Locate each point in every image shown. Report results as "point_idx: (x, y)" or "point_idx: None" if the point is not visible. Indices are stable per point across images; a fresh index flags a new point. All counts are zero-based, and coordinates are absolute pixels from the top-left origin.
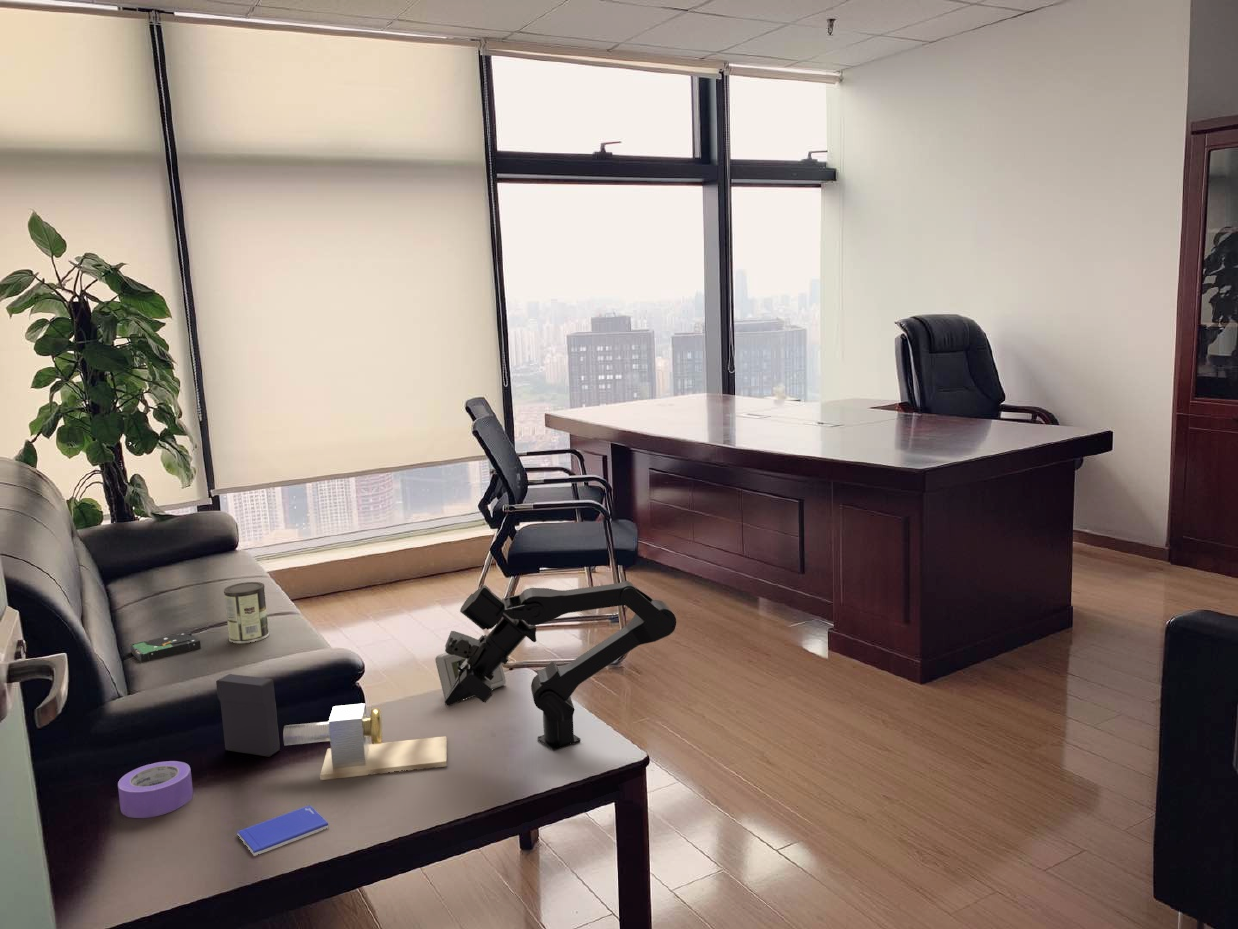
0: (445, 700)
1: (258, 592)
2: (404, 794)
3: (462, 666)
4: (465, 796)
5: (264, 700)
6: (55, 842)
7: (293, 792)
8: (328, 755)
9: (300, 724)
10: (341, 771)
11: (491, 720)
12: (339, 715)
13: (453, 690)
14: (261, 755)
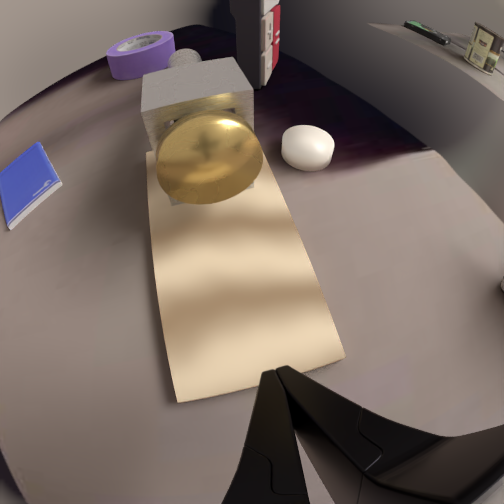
0: (270, 374)
1: (495, 37)
2: (62, 323)
3: (500, 500)
4: (48, 454)
5: (233, 8)
6: (98, 59)
7: (119, 144)
8: None
9: (186, 57)
10: (151, 175)
11: (461, 426)
12: (173, 75)
13: (244, 448)
14: None
